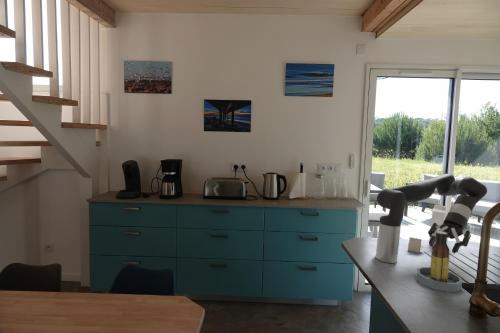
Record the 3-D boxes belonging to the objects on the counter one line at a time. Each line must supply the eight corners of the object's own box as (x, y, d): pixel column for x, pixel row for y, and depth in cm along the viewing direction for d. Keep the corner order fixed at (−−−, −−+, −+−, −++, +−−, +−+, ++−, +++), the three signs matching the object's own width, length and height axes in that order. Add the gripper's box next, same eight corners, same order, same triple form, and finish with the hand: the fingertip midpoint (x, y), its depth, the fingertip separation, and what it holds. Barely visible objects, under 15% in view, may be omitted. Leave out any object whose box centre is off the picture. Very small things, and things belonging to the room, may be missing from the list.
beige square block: (408, 249, 176) (410, 235, 175) (423, 252, 172) (424, 238, 172) (407, 251, 173) (409, 237, 172) (422, 254, 169) (424, 239, 169)
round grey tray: (408, 274, 141) (409, 266, 141) (442, 274, 143) (443, 267, 143) (432, 291, 126) (433, 283, 126) (470, 291, 128) (471, 283, 127)
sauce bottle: (445, 278, 137) (450, 231, 135) (449, 285, 131) (454, 235, 129) (427, 276, 139) (432, 229, 137) (430, 282, 133) (435, 233, 131)
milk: (440, 246, 181) (445, 207, 179) (428, 243, 186) (433, 205, 183) (443, 244, 186) (448, 205, 184) (431, 241, 190) (435, 203, 188)
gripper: (479, 227, 134) (463, 260, 129) (441, 218, 146) (426, 248, 140) (475, 215, 131) (459, 248, 125) (437, 208, 142) (421, 238, 136)
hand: (441, 248), depth 132 cm, fingers open, 8 cm apart
